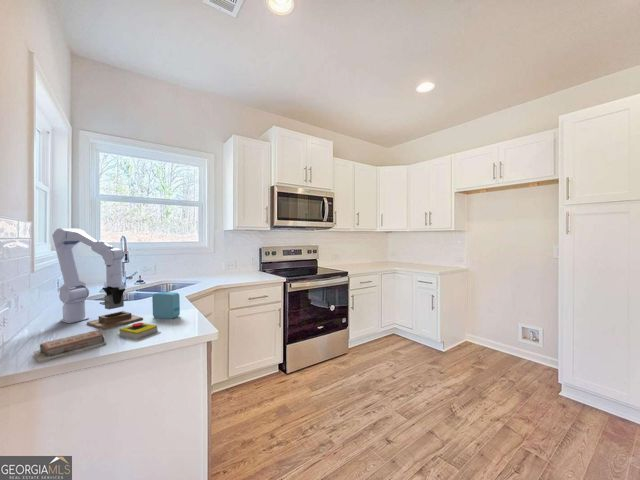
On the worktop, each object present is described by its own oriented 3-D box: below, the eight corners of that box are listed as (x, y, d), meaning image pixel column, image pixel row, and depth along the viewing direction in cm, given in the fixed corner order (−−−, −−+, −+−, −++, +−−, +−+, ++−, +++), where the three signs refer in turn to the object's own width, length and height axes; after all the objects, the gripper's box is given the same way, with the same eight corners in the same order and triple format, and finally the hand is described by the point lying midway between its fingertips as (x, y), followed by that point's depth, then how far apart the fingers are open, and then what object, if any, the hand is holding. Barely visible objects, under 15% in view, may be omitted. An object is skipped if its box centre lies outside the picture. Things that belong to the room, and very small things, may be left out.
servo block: (99, 309, 126) (99, 294, 126) (124, 304, 135) (123, 290, 135) (103, 310, 124) (103, 295, 124) (128, 305, 133) (127, 291, 133)
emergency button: (138, 319, 122) (162, 323, 116) (138, 328, 122) (162, 333, 116) (115, 325, 113) (140, 330, 107) (116, 336, 113) (140, 341, 108)
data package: (180, 316, 138) (179, 292, 138) (173, 319, 134) (172, 294, 133) (159, 315, 141) (159, 291, 140) (152, 317, 136) (151, 293, 136)
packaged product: (98, 327, 110) (106, 333, 104) (98, 339, 110) (106, 346, 104) (33, 342, 95) (38, 349, 89) (33, 356, 95) (38, 364, 89)
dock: (86, 324, 127) (86, 316, 127) (125, 314, 141) (125, 308, 141) (103, 330, 119) (103, 322, 119) (142, 319, 133) (142, 312, 133)
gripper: (96, 274, 130) (97, 303, 130) (111, 276, 122) (112, 307, 123) (113, 272, 136) (114, 299, 136) (129, 274, 129) (130, 303, 129)
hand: (114, 303), depth 130 cm, fingers closed on servo block, 4 cm apart
